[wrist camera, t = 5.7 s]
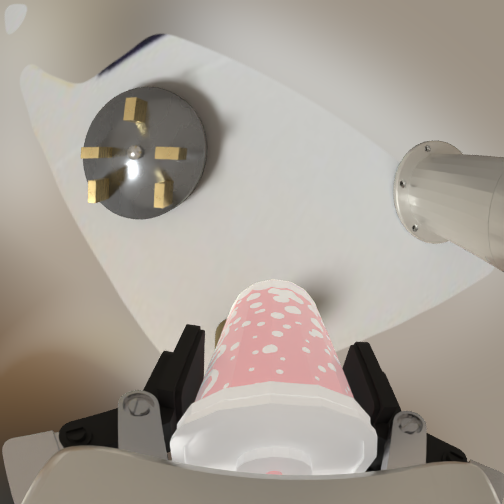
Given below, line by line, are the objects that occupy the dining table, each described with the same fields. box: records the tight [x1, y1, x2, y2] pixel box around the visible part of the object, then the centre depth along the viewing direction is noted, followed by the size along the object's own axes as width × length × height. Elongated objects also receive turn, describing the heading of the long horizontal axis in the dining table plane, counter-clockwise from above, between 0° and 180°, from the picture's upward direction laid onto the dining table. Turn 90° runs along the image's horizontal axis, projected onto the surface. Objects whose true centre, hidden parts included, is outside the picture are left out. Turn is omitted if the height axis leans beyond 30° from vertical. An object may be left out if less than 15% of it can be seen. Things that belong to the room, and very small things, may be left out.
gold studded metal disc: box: [81, 87, 207, 219], centre depth 29 cm, size 15×15×5 cm
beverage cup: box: [170, 279, 377, 475], centre depth 9 cm, size 6×6×14 cm
